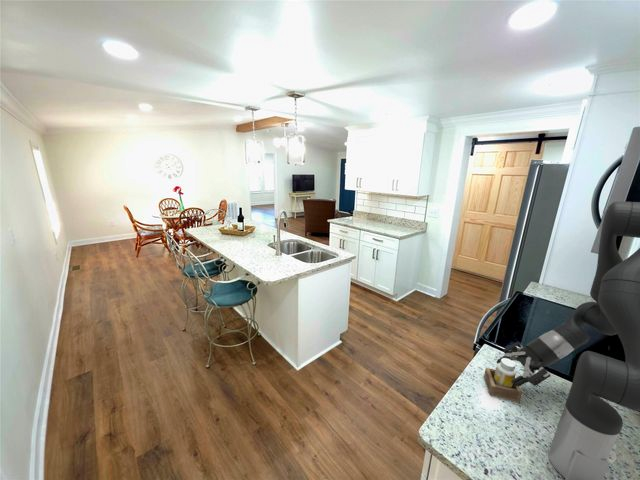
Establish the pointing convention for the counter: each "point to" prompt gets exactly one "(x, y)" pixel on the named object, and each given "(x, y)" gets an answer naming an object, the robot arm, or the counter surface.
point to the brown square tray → (501, 388)
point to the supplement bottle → (505, 373)
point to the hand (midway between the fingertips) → (505, 373)
